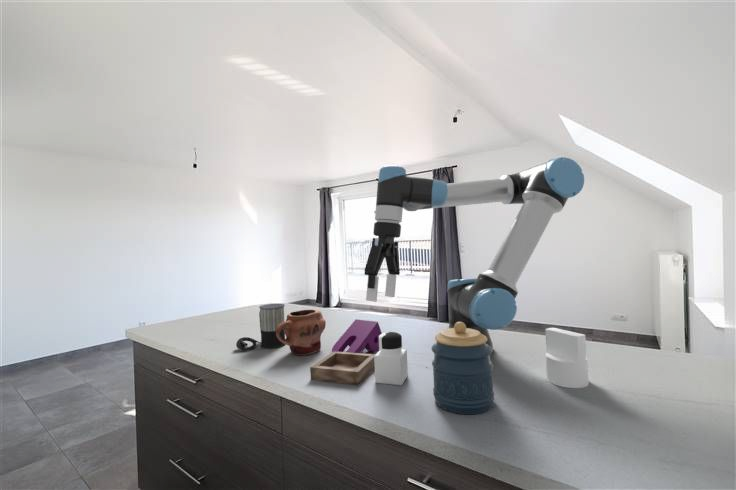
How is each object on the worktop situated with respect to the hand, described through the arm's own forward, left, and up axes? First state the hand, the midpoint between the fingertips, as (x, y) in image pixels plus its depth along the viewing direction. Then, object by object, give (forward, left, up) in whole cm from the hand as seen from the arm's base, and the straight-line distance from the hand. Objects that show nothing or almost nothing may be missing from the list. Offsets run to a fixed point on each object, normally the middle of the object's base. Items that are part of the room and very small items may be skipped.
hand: (381, 298), depth 95 cm
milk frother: (+52, -13, -21) cm, 57 cm away
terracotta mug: (+33, -10, -21) cm, 40 cm away
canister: (-22, +12, -21) cm, 33 cm away
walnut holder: (+11, +3, -21) cm, 23 cm away
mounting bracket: (+15, -14, -21) cm, 29 cm away
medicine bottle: (-3, +4, -21) cm, 21 cm away
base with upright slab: (-45, -6, -21) cm, 50 cm away
